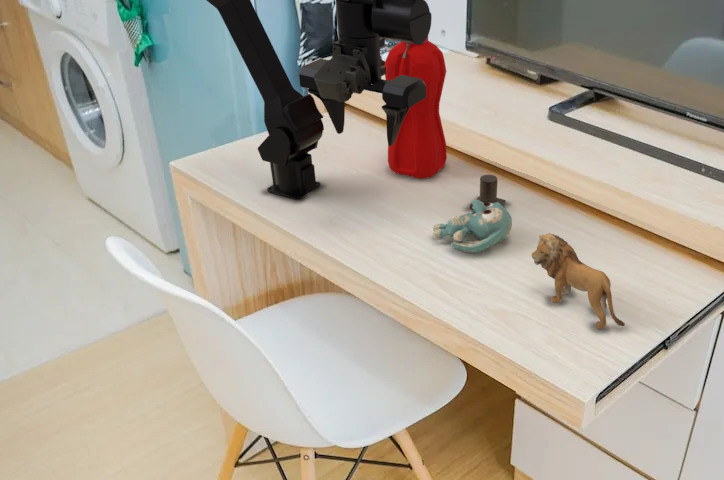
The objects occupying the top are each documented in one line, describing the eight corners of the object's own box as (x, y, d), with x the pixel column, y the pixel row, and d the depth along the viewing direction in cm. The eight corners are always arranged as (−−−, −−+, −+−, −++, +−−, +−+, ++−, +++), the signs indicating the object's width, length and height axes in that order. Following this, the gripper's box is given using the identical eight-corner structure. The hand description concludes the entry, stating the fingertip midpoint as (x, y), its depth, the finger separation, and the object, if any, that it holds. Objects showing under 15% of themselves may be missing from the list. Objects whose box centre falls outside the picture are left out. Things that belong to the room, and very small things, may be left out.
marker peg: (469, 208, 128) (470, 180, 125) (481, 198, 131) (482, 170, 128) (494, 215, 127) (495, 186, 124) (505, 204, 130) (507, 176, 127)
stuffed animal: (427, 191, 121) (504, 178, 120) (436, 232, 125) (511, 219, 124) (427, 225, 112) (510, 211, 111) (437, 268, 116) (517, 254, 116)
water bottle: (377, 177, 136) (368, 28, 122) (406, 154, 145) (401, 11, 130) (425, 188, 134) (422, 36, 119) (452, 163, 142) (452, 19, 127)
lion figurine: (522, 294, 108) (526, 237, 103) (545, 279, 111) (550, 223, 106) (613, 337, 101) (622, 278, 95) (635, 320, 104) (645, 261, 99)
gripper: (268, 36, 108) (282, 144, 117) (384, 59, 101) (389, 171, 111) (317, 18, 116) (326, 120, 125) (427, 37, 110) (428, 144, 119)
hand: (365, 138), depth 120 cm, fingers open, 9 cm apart
